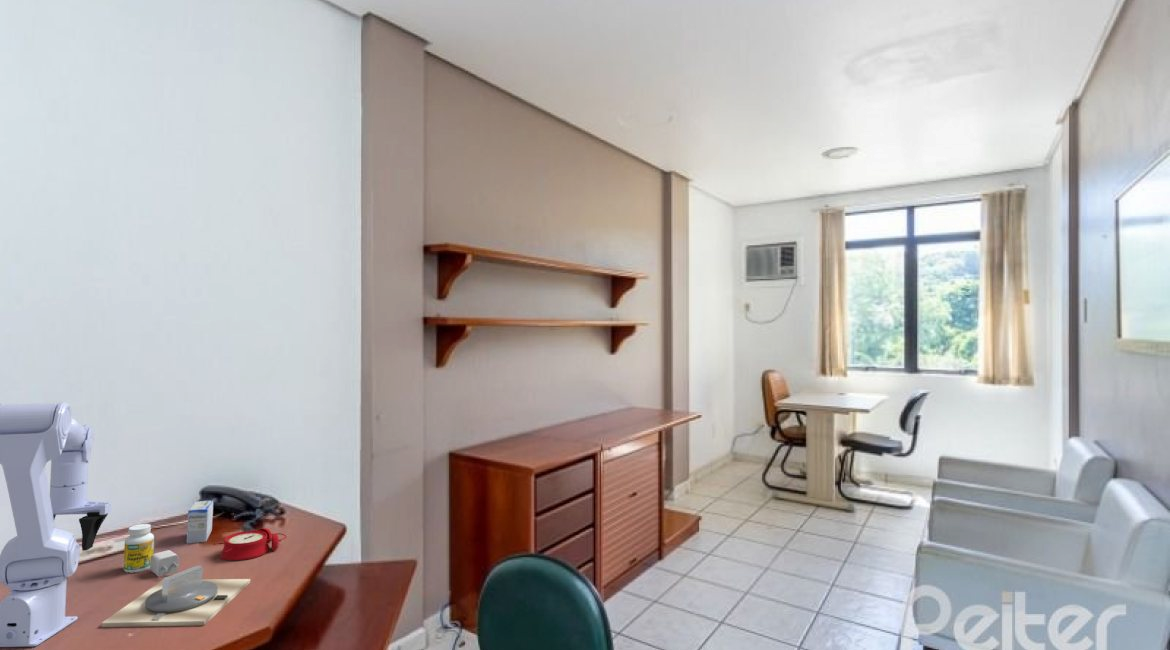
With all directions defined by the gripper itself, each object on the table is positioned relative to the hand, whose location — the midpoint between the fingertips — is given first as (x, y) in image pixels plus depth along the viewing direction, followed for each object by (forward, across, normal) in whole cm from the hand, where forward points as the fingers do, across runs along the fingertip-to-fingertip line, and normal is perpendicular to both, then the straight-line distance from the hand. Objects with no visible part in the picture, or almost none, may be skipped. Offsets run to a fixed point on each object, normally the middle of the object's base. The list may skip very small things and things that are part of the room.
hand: (66, 549), depth 117 cm
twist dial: (+9, -24, +6) cm, 27 cm away
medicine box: (+10, -12, -31) cm, 35 cm away
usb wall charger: (+10, -14, -9) cm, 20 cm away
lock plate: (+9, -24, +6) cm, 27 cm away
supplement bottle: (+10, -7, -12) cm, 17 cm away
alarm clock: (+10, -28, -21) cm, 36 cm away
